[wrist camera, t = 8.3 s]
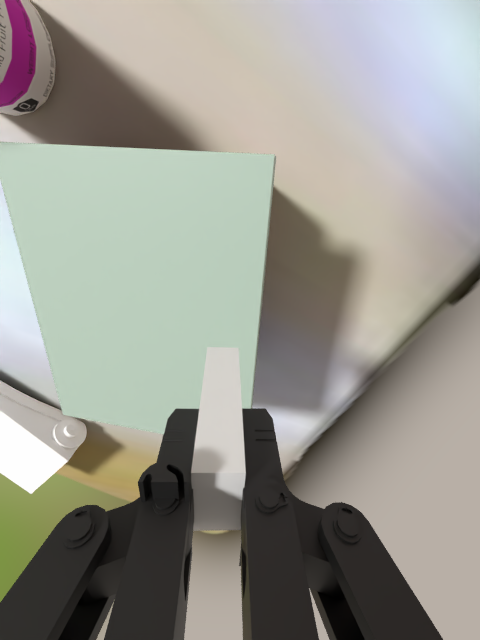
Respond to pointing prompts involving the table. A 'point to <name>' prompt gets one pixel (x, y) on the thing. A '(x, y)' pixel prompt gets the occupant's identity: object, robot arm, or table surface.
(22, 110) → the supplement can
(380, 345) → the table surface
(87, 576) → the robot arm
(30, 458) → the white rectangular bar
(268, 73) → the table surface
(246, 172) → the lid
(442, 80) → the table surface
